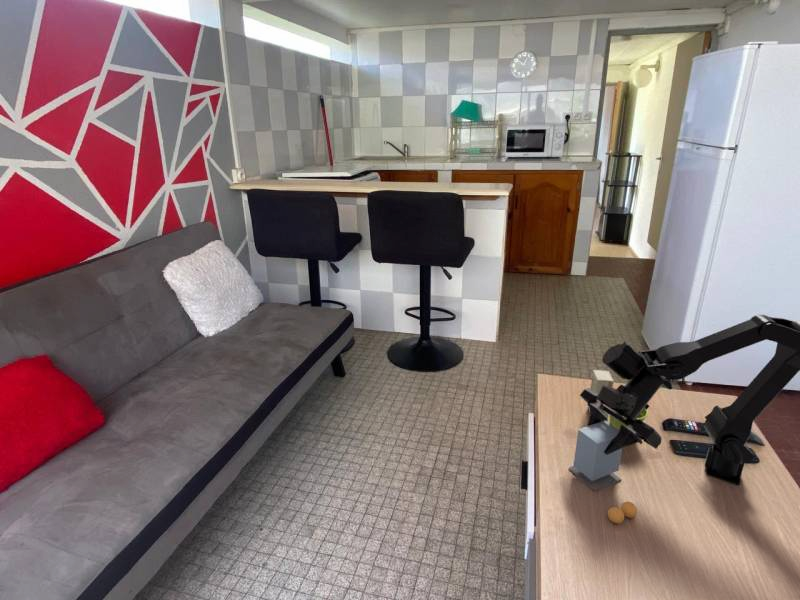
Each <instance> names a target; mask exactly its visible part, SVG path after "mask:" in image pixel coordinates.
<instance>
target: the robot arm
mask: <svg viewBox="0 0 800 600" xmlns="http://www.w3.org/2000/svg"><path fill="white" fill-rule="evenodd" d="M766 340H767V341H771V342H774V343H776V346H775V347H776V348H775V353H774V355H773V357H771V359H770V360H769V361H768V362H767V363H766V365H765V366H763V368H762V369H761V370H760V372H759V373H758V374H757V375H756V376H755V377H754V378H753V379H752V381H750V383H749V384H748V385H747V386H746V387H745V389H744V390H743V391H742V392H741V393H740V394H739V395H738V396H737V398H736V399H735V400H734V401H733V402H732V403H731V404H730V405H728V406H726V407H720V406H719V405H715V406H713V408H712V409H711V412H710V413H709V414H707V415H705V416H704V418H705V421H704V423H703V426H704V429H705V431H706V433H707V434H708V436H709V437H710V439H711V440H712V442H713V443H712V446H709V447H708V450H707V454H706V457H705V462H704V468H706V470H705V474H706V475H707V476H710V477H713V478H717V479H719V480H722V481H726V482H728V483H731V484H733V485H737V486H740V485H741V480H742V479H741V477H742V474H743V470H744V467H745V464H750V463H751V462H752V461H753V460H754V458H756V457H755V455H754V453H753V452H752V451H751V449H750V448H749V446H748V445H747V444H746V443H747V442H748V440H749V438H750V437H751V433H752V428H753V425H754V424H753V423H754V422H755V420H756V419H757V417H758V416H759V415H760V414H761V413H762V412H763V411H764V410H765V409H766V408H767V407H768V405H770V404H771V402H772V401H773V400H775V398H776V397H777V396H778V395H779V394H780V392H781V391H782V390H783V389H784V388H785V387H786V386H787V385H788V384H789V383H790V382H791V381H792V379H794V377H795V376H796V375H797V374H798V373H799V372H800V320H796V321H795V320H794V321H793V320H791V319H787V318H782V317H771V316H768V315H765V314H757V315H754V316H752V317H751V318H750V319H748V320H746V321H742V322H741V323H738V324H735V325H733V326H730V327H726V328H724V329H722V330H718V331H716V332H714V333H712V334H710V335H707V336H704V337H701V338H699V339H697V340H696V339H695V340H693V341H678V342H674V343H668V344H665V345H661V346H660V347H658V348H655V349H646V350H640V351H637V350H636V349H634V348H633V347H632V346H631V344H630V343H629V342H628V341H624V342H623V343H622V344H621V343H618V344H615V345H614V346H610V347H609V348H608V349H607V350H606V351H605V352H604V354H603V356H602V359H601V360H602V363H603V364H604V365H605V366H606V367H608V368H609V369H610V370H611V371H613V372H614V373H615V374H616V375H617V376H619V377H620V378H621V379H623V380H627V382H626V384H625V385H623V384H620V385H618V387H617V388H614V387H613V388H611V387H608V386H604V385H603V386H602V388H601V390H600V392H599V394H598V393H596V392H594V391H593V390H591V387H590V388H589V387H588V388H584V389H583V390H582V391H581V393H580V394H579V396H580V397H581V399H583V400H584V401H585V403H586V404H587V407H588V406H589V407H590V412H589V419H588V423H587V426H590V425H593V424H596V423H599V422H602V421H607V422H608V420H607V418H606V417H605V416H604V414H605V413H608V414H609V416H610V415H611V416H613V417H614V418H616V419H617V420H619V421H620V422H622V423H623V424H625V425H626V426H627V428H626V427H624V426H623V425H621V427H620V430H619V433H618V434H617V435H616V437H615V438H614V439H613V440H612V441H611V443H610V444H609V445H608V446H607V448H606V450H605V451H604V453H605V454H606V455H608V454H610V453H612V452H614V451H616V450H619V449H621V448H622V449H623V448H625V447H628V446H631V445H634V444H637V443H639V444H640V445H641V444H643V442H644V443H646V444H647V445H649V446H650V447H652V448H654V449H656V450H657V449H658V447H660V446H661V443H662V436H661V435H660V434H659V433H658V431H657V429H655V428H654V427H653V426H650V425H649V424H647V423H646V422H644V421H641V420H637V419H636V417H637V416H638V415H639V413H640V412H641V411H642V410H643V408H645V409H646V410H648V409H649V407H650V405H649V402H650V401H651V399H652V398H653V397H654V396H655V394H656V393H657V392H658V391H659V390H660V388H664V389H667V390H672V389H673V386H672V382H671V381H679V380H683V379H685V378H686V377H688V376H690V375H692V374H694V373H696V372H697V371H698V370H699V369H700V368H701V367H702V366H703V365H704V364H706V363H708V362H710V361H712V360H716V359H717V358H721V357H723V356H726V355H729V354H731V353H734V352H736V351H739V350H742V349H744V348H747V347H750V346H753V345H756V344H758V343H760V342H763V341H766ZM617 412H618V413H617ZM623 416H624V417H623ZM626 418H627V419H626ZM587 426H586V427H587Z"/></svg>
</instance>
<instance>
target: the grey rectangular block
mask: <svg viewBox="0 0 800 600" xmlns="http://www.w3.org/2000/svg"><path fill="white" fill-rule="evenodd" d="M618 433H619V430H618V429H617V428H615V427H614V426H612V425H611V424H610V422H608V420H607V421H602V422H599V423H596V424H593V425H590V426H585V427H581V428H579V429H578V430H577V435H576V436H577V437H576V442H575V443H576V444H575V452H574V459H573V465H572V466H574V467H576V468H577V469H578V470H579V471H580V472H582V473H583V474H584V475H585V476H586V477H587V478H589V479H590V480H591V481H594V480H596V479H599V478H601V477H604V476H606V475H609V474H611V473H614V474H615V472H618V471H620V470H619V469H620V465H621V457H622V452H623V448H621V449H619V450H616V451H614V452H612V453H610V454H608V455H606V454H605V453H604V451H605V450H606V448H607V446H608V445H609V444H610V443H611V441H612V440H613V439H614V438H615V437H616V435H617V434H618Z"/></svg>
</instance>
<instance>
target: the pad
mask: <svg viewBox="0 0 800 600" xmlns="http://www.w3.org/2000/svg"><path fill="white" fill-rule="evenodd" d="M568 470H569V471H570V472H571V473H572V474H574V476H576V477H577V478H578V479H579V480H580V481H582V482H583V483H584V484H585V485H586V486H588V487H589V489H591V490H592V491H594V492H596V491H599V490H601V489H604V488H607V487H609V486H611V485H614V484H617V483H618V482H621V481H622V478H621V477H620V476H618V475H617V474H616V473H615V472H614V473H611V474H609V475H606V476H604V477H601V478H599V479H596V480H594V481H591V480H590V479H589V478H587V477H586V476H585V475H584V474H583V473H582V472H580V471H579V470H578V469H577V468H576V467H574V466H573V465H572V466H570V467H568Z"/></svg>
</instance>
